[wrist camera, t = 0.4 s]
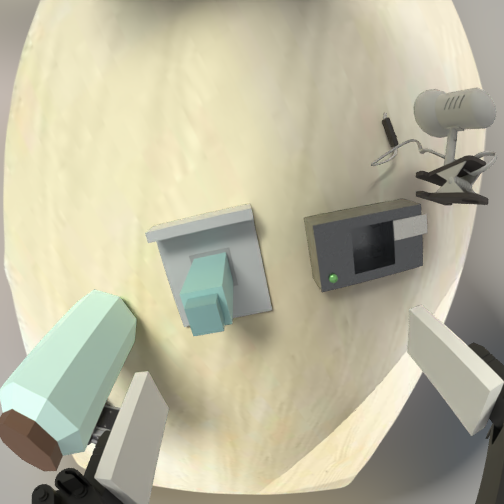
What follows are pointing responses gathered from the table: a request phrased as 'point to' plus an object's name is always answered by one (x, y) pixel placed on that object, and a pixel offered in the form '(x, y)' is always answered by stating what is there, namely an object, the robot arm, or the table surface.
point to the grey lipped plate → (210, 243)
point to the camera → (104, 422)
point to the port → (365, 242)
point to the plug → (208, 294)
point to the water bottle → (66, 381)
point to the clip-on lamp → (450, 141)
